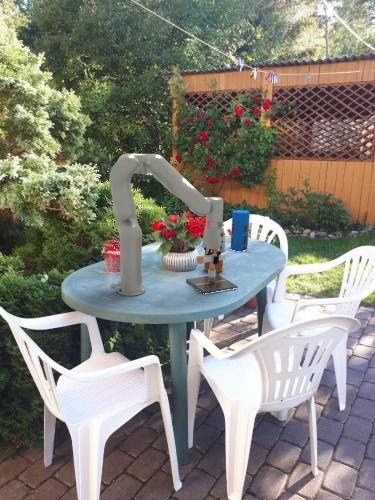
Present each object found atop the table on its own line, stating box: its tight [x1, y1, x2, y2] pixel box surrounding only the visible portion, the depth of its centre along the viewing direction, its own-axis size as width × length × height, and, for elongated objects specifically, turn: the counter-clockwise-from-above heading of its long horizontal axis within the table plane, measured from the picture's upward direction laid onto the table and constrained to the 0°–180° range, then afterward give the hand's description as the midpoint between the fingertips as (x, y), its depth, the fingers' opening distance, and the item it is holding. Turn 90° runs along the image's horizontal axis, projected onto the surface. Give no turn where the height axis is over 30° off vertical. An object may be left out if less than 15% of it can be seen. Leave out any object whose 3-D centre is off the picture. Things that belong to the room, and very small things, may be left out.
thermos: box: [230, 209, 251, 252], centre depth 239 cm, size 11×11×25 cm
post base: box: [185, 269, 239, 294], centre depth 177 cm, size 18×18×8 cm
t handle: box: [196, 252, 227, 270], centre depth 174 cm, size 3×14×7 cm, turn 119°
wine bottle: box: [203, 249, 224, 274], centre depth 195 cm, size 10×10×30 cm
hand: (212, 262), depth 175 cm, fingers closed on t handle, 3 cm apart
